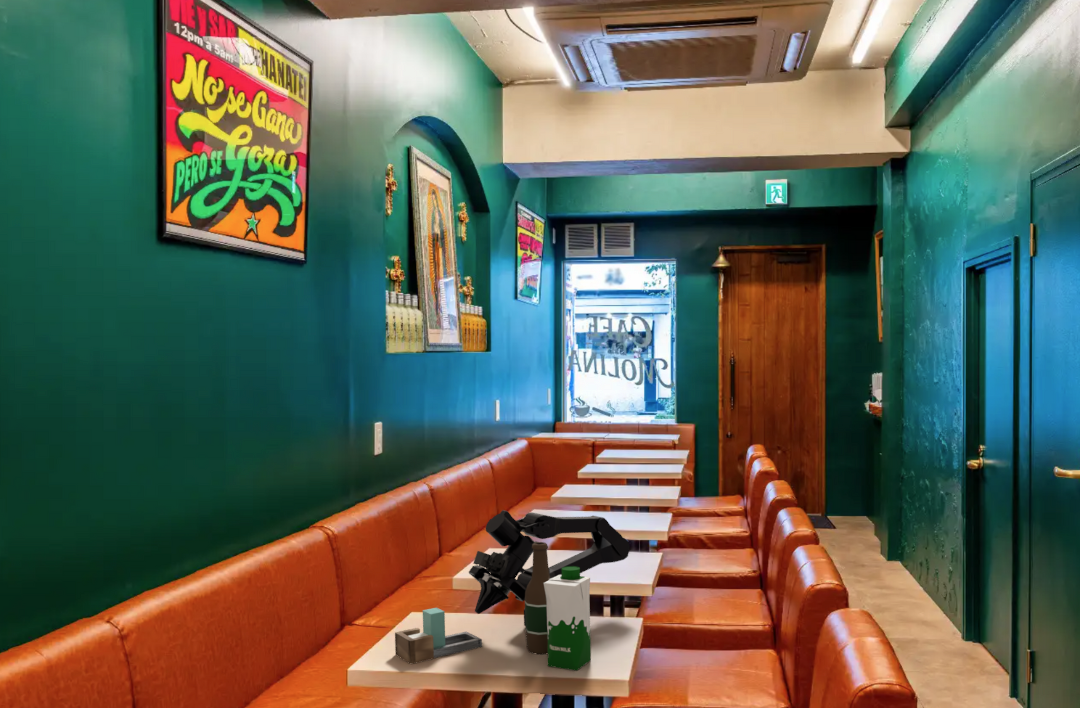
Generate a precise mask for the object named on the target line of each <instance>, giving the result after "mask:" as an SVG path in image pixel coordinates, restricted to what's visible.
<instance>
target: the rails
mask: <svg viewBox="0 0 1080 708" xmlns="http://www.w3.org/2000/svg"><path fill="white" fill-rule="evenodd" d="M478 647H480V648H483V639H482V638H480V637H479V636H476V634H473V633H470V632H468V631H462V632H458V633H454V634H453V633H452V634H449V635H445V646H441V647H437V648H433V650H434V659H436V658H440V657H441V658H442V657H445V656H448V655H454V654H457V653H462V652H466V651H470V650H474V649H479V648H478Z"/></svg>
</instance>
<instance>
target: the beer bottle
mask: <svg viewBox="0 0 1080 708" xmlns="http://www.w3.org/2000/svg"><path fill="white" fill-rule="evenodd" d="M532 549H533V553H532V566H533V571H532V578H531V580H530V582H529V583H528V585H527V588H526V591H525V601H524V609H525V626H524V627H525V628H526V631H525V644H526V649H527V651H528V652H529V653H530V652H531V654H534V653H536V655H539V654H540V655H547V654H546V653H548V634H547V600H546V594H545V588H544V583H545V582H547V581H548V580H549V579H550V575H549V560H548V549H549V546H548V543H546V542H544V541H543V542H542V541H540V542H539V541H536V543H534V544H532Z"/></svg>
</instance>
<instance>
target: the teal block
mask: <svg viewBox="0 0 1080 708" xmlns="http://www.w3.org/2000/svg"><path fill="white" fill-rule="evenodd" d="M445 616H446V615H445V610H442V609H440V608H439V607H433V608H428V609H422V628H423V629H422V632H420V633H418V634H413V635H409V637H411V638H412V639H413V638H418V637H423V636H427V635H432V636H433V648H437V647H441V646H445V636H446V623H445V622H446V617H445Z"/></svg>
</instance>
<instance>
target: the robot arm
mask: <svg viewBox="0 0 1080 708" xmlns="http://www.w3.org/2000/svg"><path fill="white" fill-rule="evenodd" d="M485 531H486V533H487V534H488V535H489V536H491V537H492V538H493V540H495V541H496V542H497V543H498V545H499V546H501V547H507V548H506V549H505V550H504V551H503V553H502V552H499V553H498V552H495V551H493V552H492V553H491V554H488V553H486V552H483V551H480V550H477V551H476V555H475V557H474V559H473V564H474V565H472V566H471V567H470V569H469V571H468V574H469V575H470V576H471V577H472V578H473V579H475V580H476V581H477V582H478V583H479V584H480V592H479V596H478V599H477V602H476V606H475V608H474V612H475V613H476V614H477V615H479V614H481V613H483V612H485V611H487V610H489V609H490V608H492V607H493V606H495V605H497V604H499V603H501V602H503V601H505V600H508V599H510V597H509V596H508V595H509V594H510V592H511V593H513V594H514V596H515V600H517V601H520V602H522V603H523V602H525V591H526V588H527V585H528V583H529V582H530V580H531V578H532V571H533V565H531V566H530V567H529V568H523V567H525V565H526V563H527V562H528V560H529V559H530V557H531V556H532V555H533V549H532V544H534V543H536V542H537V541H536V540H535V541H534V540H533V539H532V538H537V539H539V540H546V539H549V538H553V537H556V536H558V535H560V534H577V533H578V534H579V533H582V534H584V533H586V534H587V533H590V535H591V538H592V540H593V544H592V546H591V547H589V548H588V549H585V550H583V551H581V552H578V553H577V554H575V555H573V556H571V557H568V558H567V559H564V560H562V561H559V562H558V563H555V564H554V565H551V566H548V568H549V575H550V579H551V578H554V577H556V576H558V575H562V568H563V567H567V566H576V567H579V568H580V574H583V573H585V572H587V571H588V570H591V569H592V568H595V567H597V566H599V565H601V564H608V563H609V564H610V563H616V562H620V561H624V560H626V558H628V557H629V554H630V550H631V549H630V548H631V546H630V543H629V540H628V539H627V538H625V537H623V536H622V534H621V533H620V532H619V531H617V530H616V529H615V528H614V527H613V526H612V525H611V524H610V523H609V522H608V521H607V519H606V518H605V517H602V516H597V515H590V516H552V515H547V514H543V513H537V512H527V513H526V514H525V516H524V517H522V518H520V519H517V520H516V519H515V518H514V517H513V516H512V514H511V513H510V512H509V511H507V510H504V509H502V510H501V511H500V513H498V514H496V515H494V516H493V517H492V518H489V520H488V522H487V523H486V525H485ZM523 533H524V534H525V535H524V534H523ZM531 537H532V538H531ZM523 626H524V627H525V608H524V609H523ZM524 632H526V627H525V628H524Z"/></svg>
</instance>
